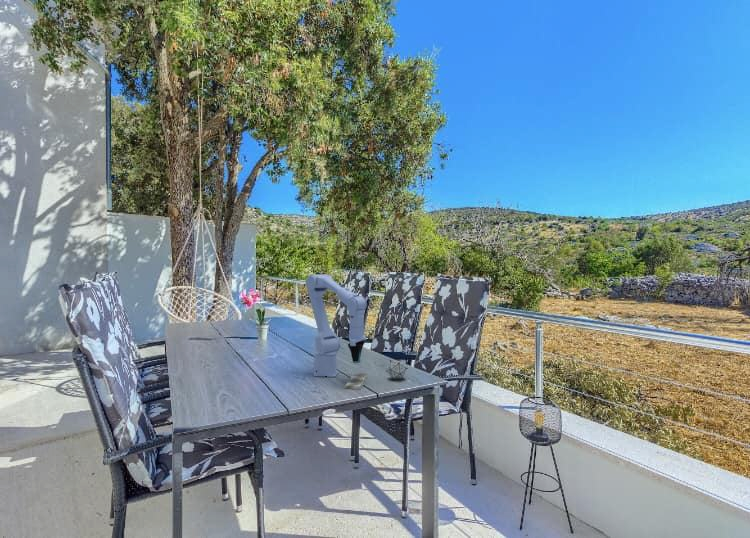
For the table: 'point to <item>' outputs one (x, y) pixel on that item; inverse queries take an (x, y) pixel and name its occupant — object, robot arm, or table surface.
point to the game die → (396, 369)
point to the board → (356, 381)
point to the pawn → (358, 360)
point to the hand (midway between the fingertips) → (356, 360)
